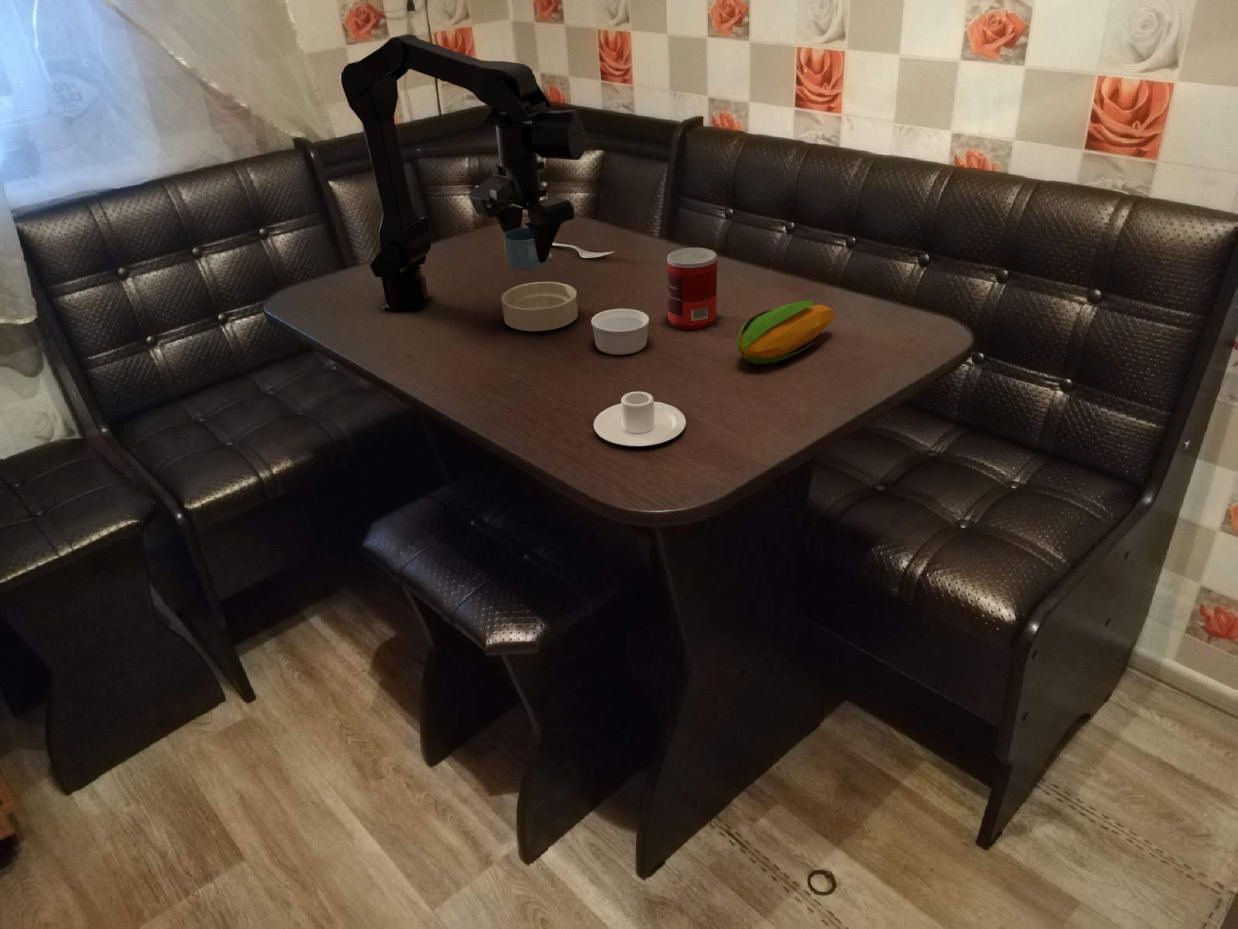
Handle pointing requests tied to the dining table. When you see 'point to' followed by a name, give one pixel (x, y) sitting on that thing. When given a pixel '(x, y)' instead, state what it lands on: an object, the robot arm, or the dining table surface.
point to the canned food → (692, 288)
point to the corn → (782, 331)
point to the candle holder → (639, 421)
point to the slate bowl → (522, 250)
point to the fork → (584, 253)
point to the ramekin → (620, 331)
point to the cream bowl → (539, 306)
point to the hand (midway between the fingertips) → (528, 256)
